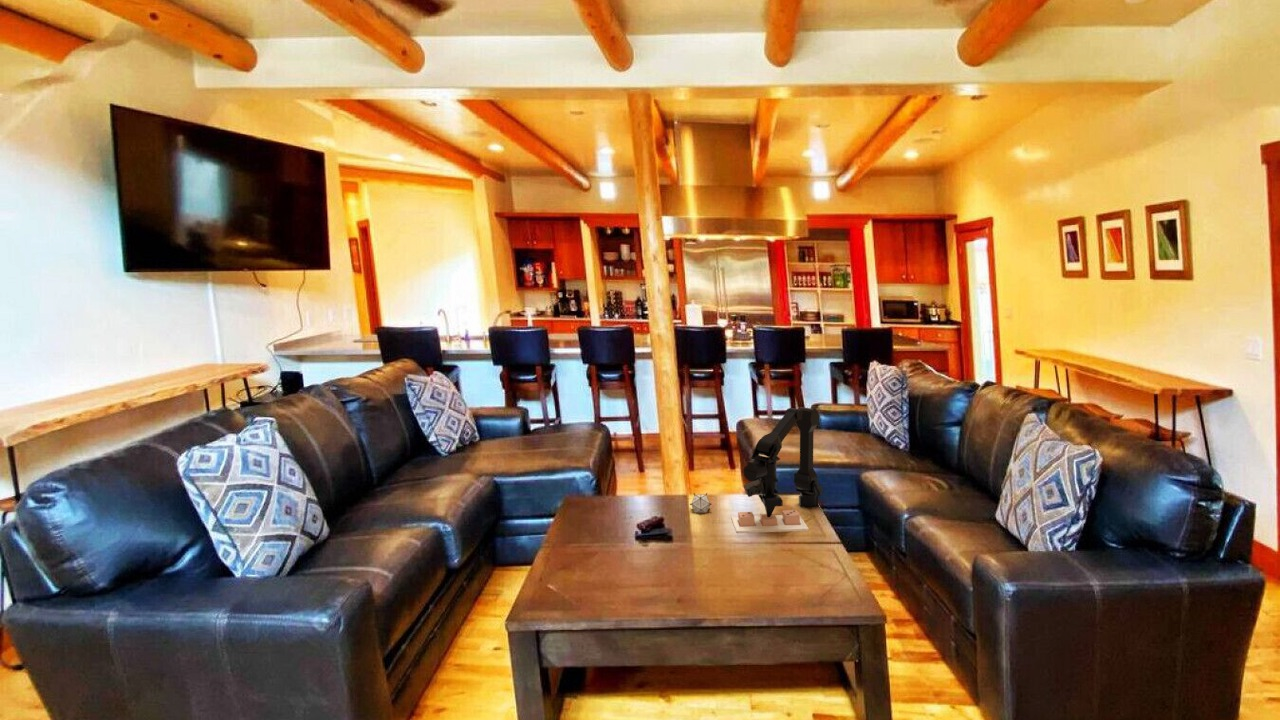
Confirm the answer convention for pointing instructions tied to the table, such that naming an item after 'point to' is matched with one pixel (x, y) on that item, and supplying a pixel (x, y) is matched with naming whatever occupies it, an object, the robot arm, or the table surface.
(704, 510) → the game die
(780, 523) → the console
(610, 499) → the table surface
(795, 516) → the tile three dots
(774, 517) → the tile one dot
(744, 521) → the tile two dots
